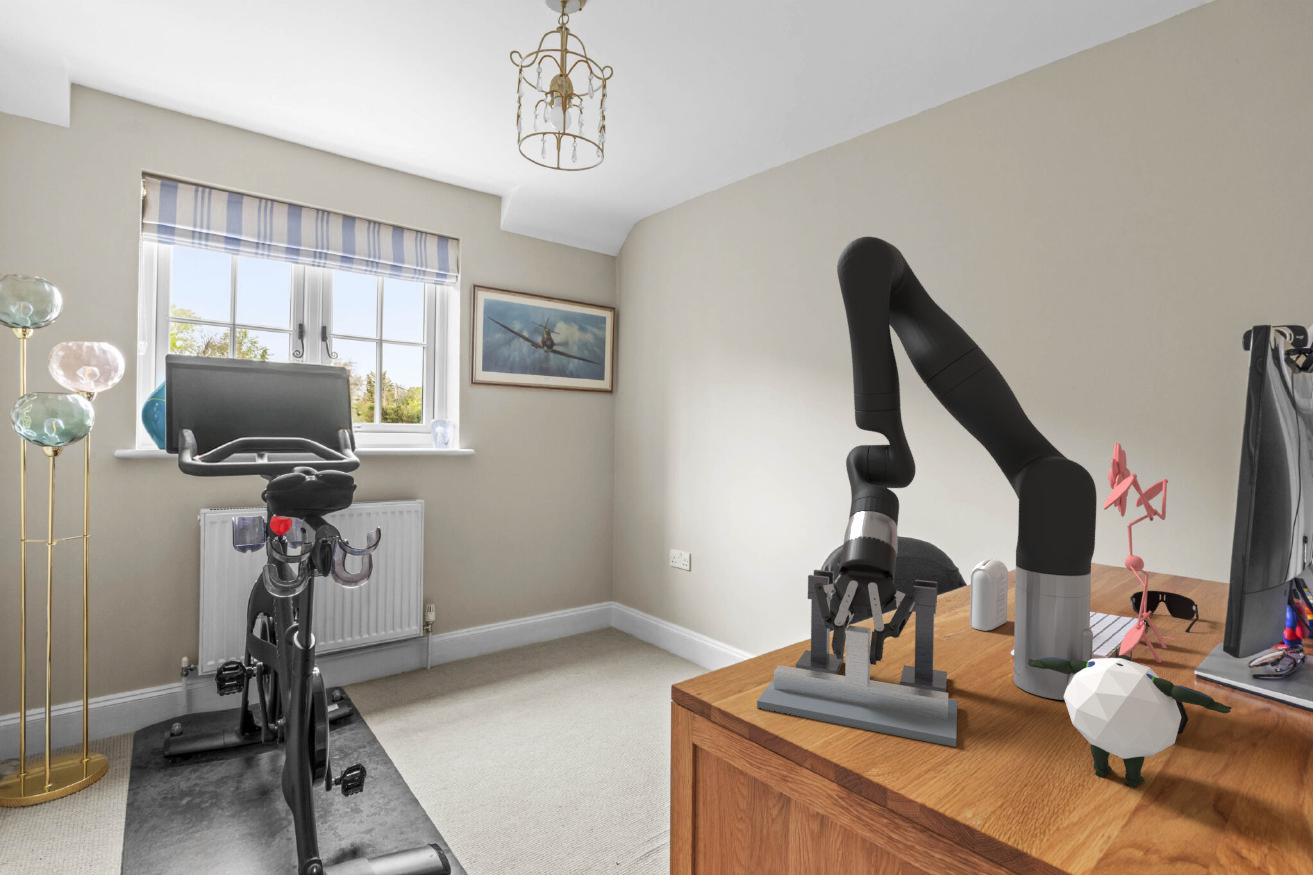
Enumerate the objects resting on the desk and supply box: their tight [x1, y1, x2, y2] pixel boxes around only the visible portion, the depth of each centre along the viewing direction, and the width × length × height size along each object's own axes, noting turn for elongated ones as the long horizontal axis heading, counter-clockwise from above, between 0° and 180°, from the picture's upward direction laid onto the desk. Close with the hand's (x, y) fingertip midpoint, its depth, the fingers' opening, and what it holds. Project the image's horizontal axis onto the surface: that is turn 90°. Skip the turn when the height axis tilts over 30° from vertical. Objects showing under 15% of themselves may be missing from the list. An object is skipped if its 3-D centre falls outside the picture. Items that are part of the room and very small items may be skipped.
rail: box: [773, 624, 949, 720], centre depth 87 cm, size 22×2×10 cm, turn 65°
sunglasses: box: [1129, 590, 1200, 633], centre depth 127 cm, size 10×12×5 cm
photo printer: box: [969, 558, 1009, 632], centre depth 124 cm, size 10×4×12 cm, turn 134°
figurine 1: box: [1103, 443, 1176, 663], centre depth 113 cm, size 15×26×35 cm, turn 138°
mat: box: [756, 678, 958, 748], centre depth 87 cm, size 24×12×1 cm, turn 65°
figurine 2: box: [1028, 647, 1233, 789], centre depth 71 cm, size 18×10×13 cm, turn 44°
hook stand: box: [795, 569, 948, 693], centre depth 99 cm, size 21×7×14 cm, turn 65°
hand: (856, 658), depth 85 cm, fingers open, 3 cm apart
